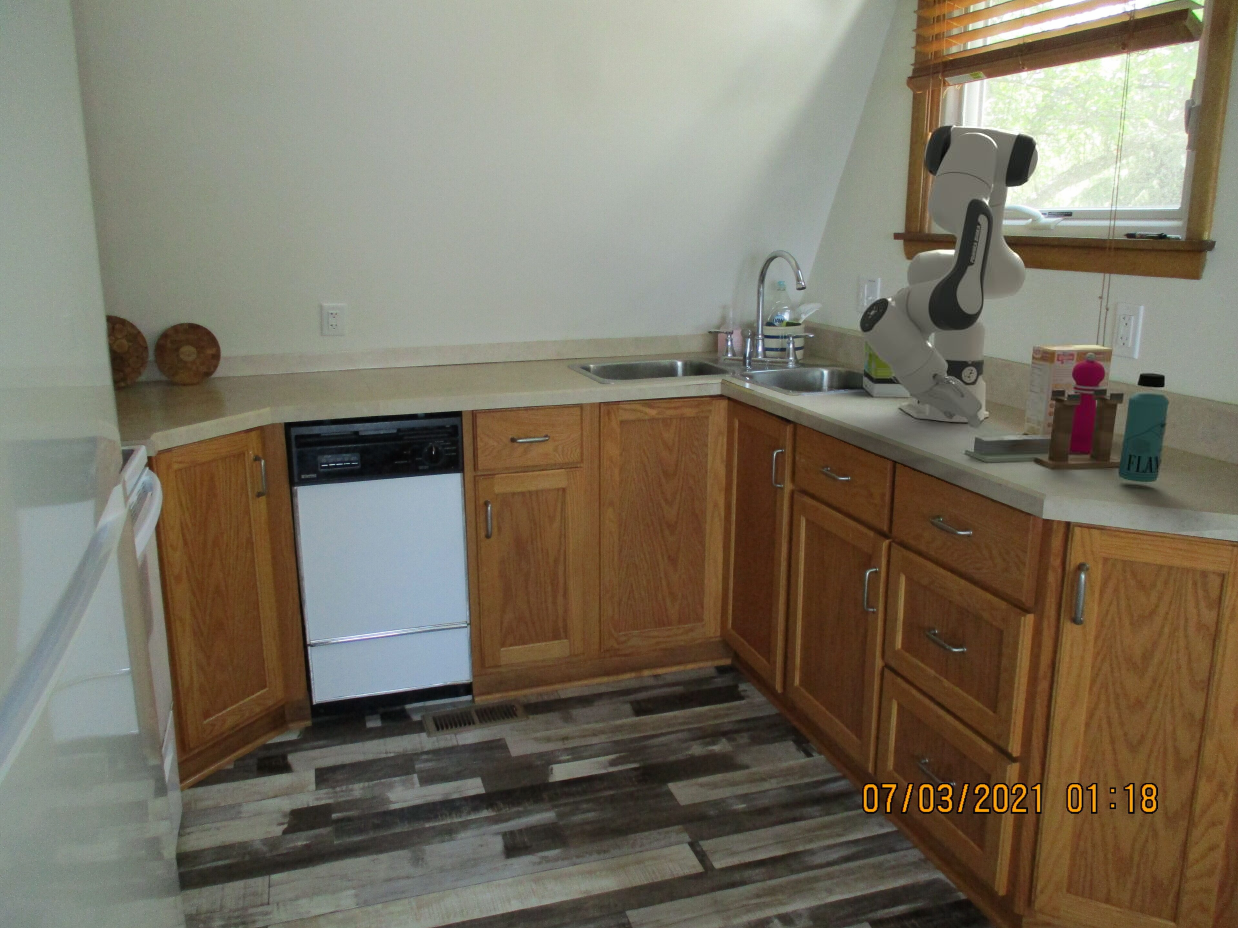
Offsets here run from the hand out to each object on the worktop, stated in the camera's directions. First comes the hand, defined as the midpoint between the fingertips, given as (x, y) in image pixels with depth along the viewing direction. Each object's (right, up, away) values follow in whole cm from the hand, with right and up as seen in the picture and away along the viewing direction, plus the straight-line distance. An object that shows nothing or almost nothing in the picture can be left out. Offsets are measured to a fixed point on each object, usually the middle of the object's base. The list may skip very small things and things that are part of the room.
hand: (964, 420), depth 190 cm
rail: (+11, -6, +4) cm, 13 cm away
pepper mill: (+27, -6, +10) cm, 29 cm away
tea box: (+5, +11, +76) cm, 77 cm away
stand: (+21, -8, -2) cm, 23 cm away
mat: (+11, -7, +4) cm, 14 cm away
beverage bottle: (+24, -12, -17) cm, 32 cm away
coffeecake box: (+30, -2, +25) cm, 39 cm away
